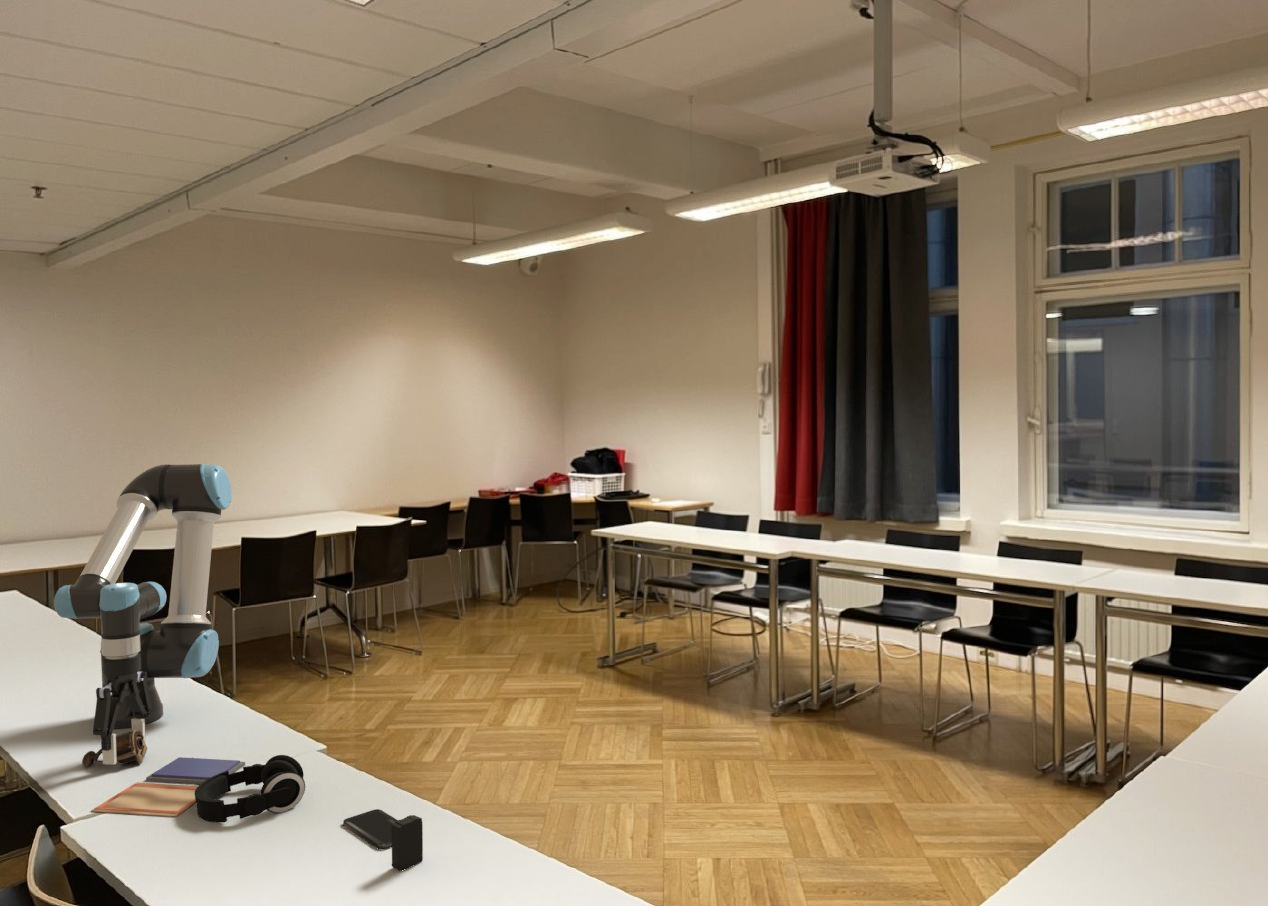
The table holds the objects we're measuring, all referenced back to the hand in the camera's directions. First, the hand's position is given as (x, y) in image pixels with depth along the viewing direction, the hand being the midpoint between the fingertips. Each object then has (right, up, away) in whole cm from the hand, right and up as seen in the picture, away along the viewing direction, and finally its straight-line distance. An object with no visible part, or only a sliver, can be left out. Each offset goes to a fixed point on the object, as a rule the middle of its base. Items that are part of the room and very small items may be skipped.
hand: (124, 755), depth 213 cm
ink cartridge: (+73, -5, -46) cm, 87 cm away
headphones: (+36, -3, -22) cm, 43 cm away
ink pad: (+18, -2, -5) cm, 19 cm away
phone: (+65, -4, -33) cm, 73 cm away
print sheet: (+16, -3, -19) cm, 26 cm away
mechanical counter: (-2, -2, 0) cm, 3 cm away
